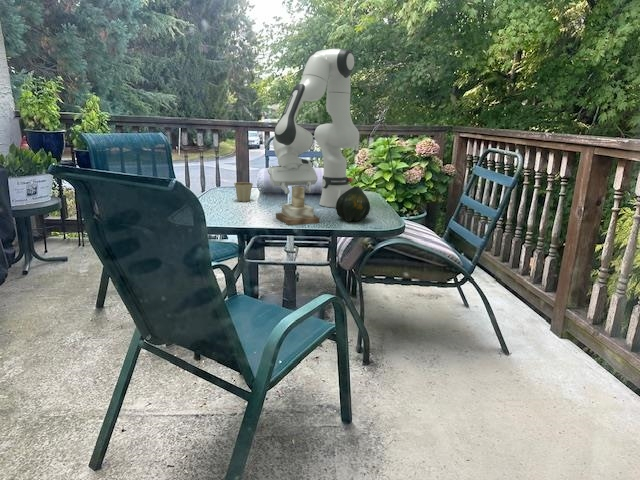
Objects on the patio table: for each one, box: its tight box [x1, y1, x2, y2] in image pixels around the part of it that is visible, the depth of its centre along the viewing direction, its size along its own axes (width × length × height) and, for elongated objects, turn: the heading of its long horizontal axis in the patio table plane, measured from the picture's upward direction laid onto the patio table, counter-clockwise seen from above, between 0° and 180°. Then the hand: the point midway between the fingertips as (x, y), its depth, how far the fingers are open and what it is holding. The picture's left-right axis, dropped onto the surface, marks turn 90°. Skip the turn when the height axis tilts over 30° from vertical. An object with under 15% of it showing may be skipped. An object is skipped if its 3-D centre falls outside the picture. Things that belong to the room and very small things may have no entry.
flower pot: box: [233, 181, 254, 203], centre depth 225 cm, size 9×9×9 cm
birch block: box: [291, 185, 306, 207], centre depth 185 cm, size 4×4×8 cm
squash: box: [335, 185, 371, 223], centre depth 191 cm, size 14×15×15 cm
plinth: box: [275, 203, 321, 226], centre depth 187 cm, size 14×14×6 cm
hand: (298, 192), depth 185 cm, fingers open, 8 cm apart
